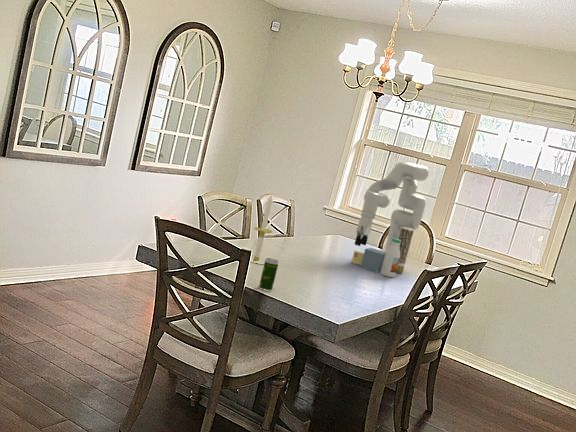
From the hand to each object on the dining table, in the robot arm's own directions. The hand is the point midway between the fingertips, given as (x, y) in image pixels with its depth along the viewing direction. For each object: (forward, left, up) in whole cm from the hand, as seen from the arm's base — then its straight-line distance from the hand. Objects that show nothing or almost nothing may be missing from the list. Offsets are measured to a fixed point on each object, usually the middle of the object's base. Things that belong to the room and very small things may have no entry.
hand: (360, 244), depth 368 cm
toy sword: (+72, -24, -11) cm, 77 cm away
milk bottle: (+5, +20, -11) cm, 23 cm away
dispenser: (-1, +10, -11) cm, 14 cm away
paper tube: (-15, +20, -11) cm, 27 cm away
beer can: (+112, +2, -11) cm, 113 cm away
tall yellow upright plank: (-1, +4, -10) cm, 11 cm away
